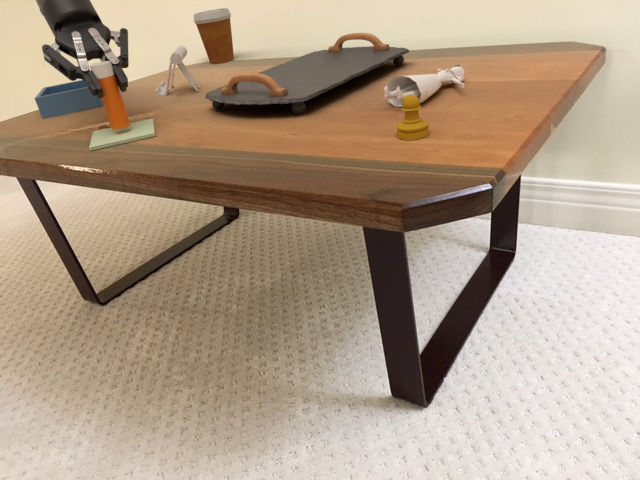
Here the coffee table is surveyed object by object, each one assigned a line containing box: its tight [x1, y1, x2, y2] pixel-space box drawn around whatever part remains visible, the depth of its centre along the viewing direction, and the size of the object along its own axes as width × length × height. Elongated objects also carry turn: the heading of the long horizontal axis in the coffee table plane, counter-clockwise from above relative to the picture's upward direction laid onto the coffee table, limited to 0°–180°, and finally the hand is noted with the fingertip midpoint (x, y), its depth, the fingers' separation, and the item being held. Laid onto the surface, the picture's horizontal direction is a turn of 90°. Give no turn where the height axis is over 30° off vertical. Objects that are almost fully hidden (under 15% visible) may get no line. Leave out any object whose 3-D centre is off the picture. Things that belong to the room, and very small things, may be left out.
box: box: [34, 79, 104, 120], centre depth 110 cm, size 12×12×5 cm
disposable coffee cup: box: [192, 7, 235, 65], centre depth 137 cm, size 10×10×12 cm
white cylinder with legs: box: [155, 46, 201, 98], centre depth 109 cm, size 9×8×8 cm
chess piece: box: [395, 94, 430, 141], centre depth 66 cm, size 4×4×5 cm
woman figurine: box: [383, 63, 466, 107], centre depth 81 cm, size 12×4×18 cm
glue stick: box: [89, 61, 131, 130], centre depth 85 cm, size 3×3×10 cm
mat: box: [88, 118, 157, 152], centre depth 88 cm, size 10×10×1 cm
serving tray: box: [205, 32, 410, 117], centre depth 97 cm, size 39×23×6 cm, turn 143°
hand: (112, 91), depth 83 cm, fingers closed on glue stick, 3 cm apart
